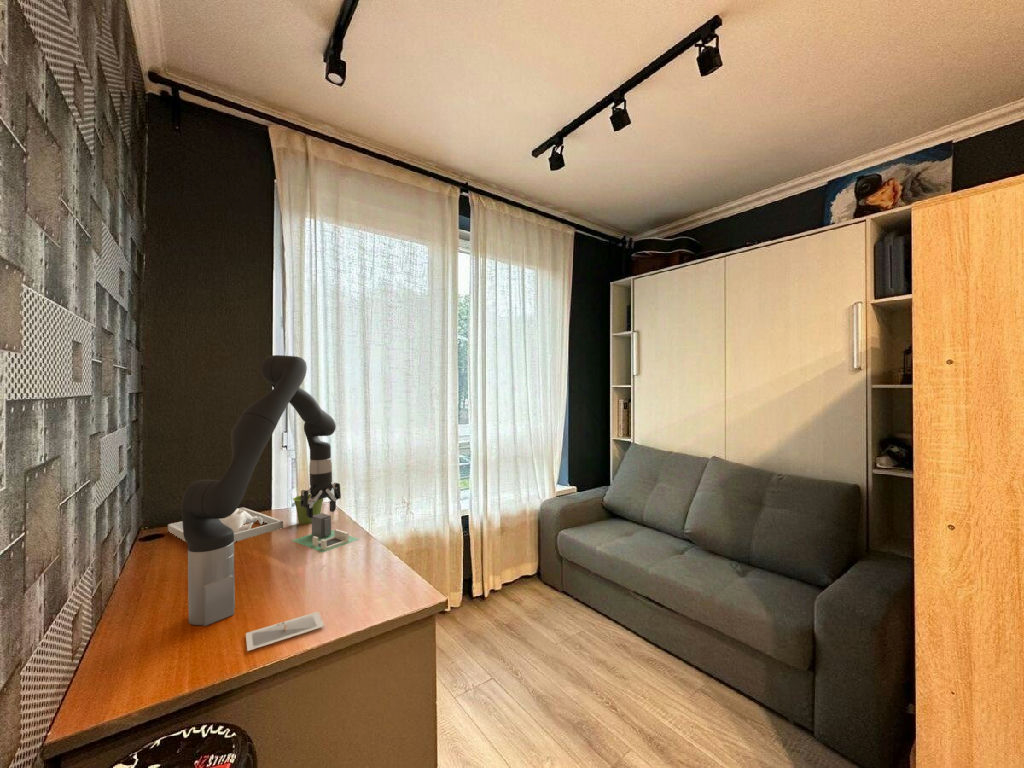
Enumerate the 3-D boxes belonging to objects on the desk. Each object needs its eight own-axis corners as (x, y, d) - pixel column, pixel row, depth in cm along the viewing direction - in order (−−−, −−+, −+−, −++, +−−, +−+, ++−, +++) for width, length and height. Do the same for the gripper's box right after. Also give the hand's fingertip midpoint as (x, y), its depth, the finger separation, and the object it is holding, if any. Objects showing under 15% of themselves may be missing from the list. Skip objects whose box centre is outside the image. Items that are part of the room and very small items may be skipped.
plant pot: (327, 525, 167) (327, 497, 167) (295, 531, 160) (294, 502, 160) (322, 517, 177) (322, 491, 177) (291, 523, 170) (291, 496, 170)
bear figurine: (263, 533, 171) (214, 521, 169) (271, 503, 169) (221, 490, 167) (239, 554, 154) (184, 541, 152) (247, 521, 152) (192, 508, 150)
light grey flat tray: (283, 528, 164) (283, 520, 164) (202, 551, 142) (202, 542, 142) (243, 514, 184) (243, 507, 184) (167, 532, 162) (167, 524, 162)
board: (359, 543, 147) (359, 530, 147) (322, 557, 135) (322, 543, 135) (328, 532, 158) (327, 521, 158) (291, 544, 147) (291, 531, 147)
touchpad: (324, 630, 94) (324, 621, 95) (247, 656, 86) (247, 645, 86) (318, 615, 101) (318, 606, 101) (245, 638, 92) (245, 628, 92)
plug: (322, 531, 155) (321, 513, 155) (332, 535, 151) (332, 516, 151) (311, 534, 152) (311, 515, 152) (322, 538, 148) (322, 519, 148)
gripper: (307, 475, 144) (308, 521, 144) (344, 468, 156) (345, 511, 156) (296, 473, 148) (297, 518, 148) (332, 466, 160) (333, 507, 160)
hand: (321, 514), depth 152 cm, fingers open, 8 cm apart
